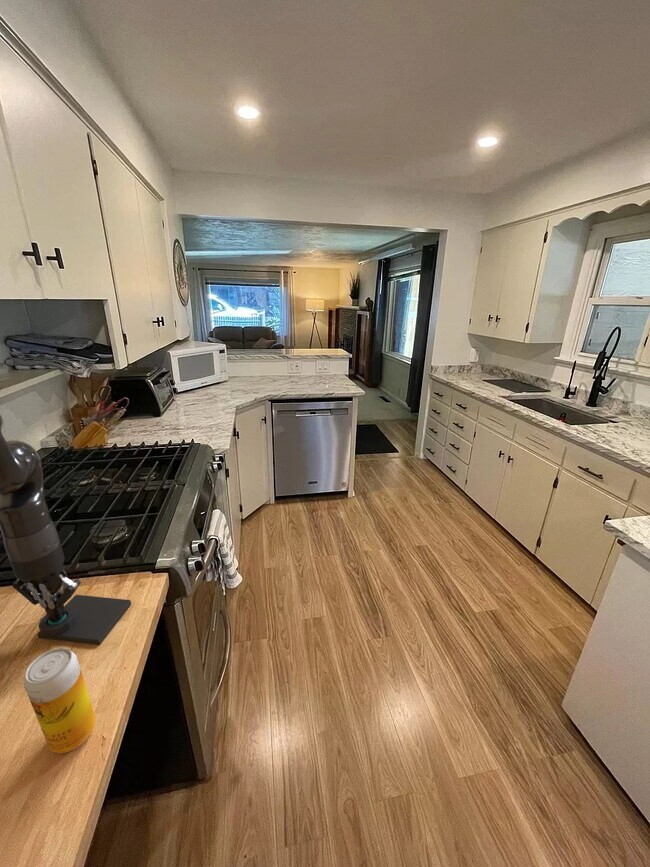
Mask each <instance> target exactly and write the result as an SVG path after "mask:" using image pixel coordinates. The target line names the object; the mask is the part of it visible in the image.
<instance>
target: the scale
mask: <svg viewBox="0 0 650 867" xmlns="http://www.w3.org/2000/svg"><path fill="white" fill-rule="evenodd" d="M131 600H132V599H125V598H124V599H123V598H113V597H104V596H103V597H102V596H95V595H94V596H93V595H85V594H84V595H83V594H75V595H74V596H72V597H71V598H70V599H69V600H68V601H67V602H66V603H65V604H64V608H65V611H66V615H67V618H66V619H65V620H64V621H62V622H60V623H59V624H56V625H52V626H51V625H49V623H48V620H49V618H48V617H47V614H46V613H45V615H44V616H43V617H42V618H41V619H40V620H39V623H38V630H39V631H38V632H37V637H38V639H43V640H51V641H60V642H70V643H78V644H87V645H88V644H89V645H96V646H101V645H102V644H103V642H104V641H105V639H106V638H107V637H108V636H109V635H110V633H111V632H112V631H113V629H114V628H115V627H116V625H117V624H118V623H119V621H120V620H121V619H122V618H123V617H124V615H125V614H126V612H127V611H128V610H129V609H130V608H131V606H132V605H131V604H132V601H131ZM130 605H131V606H130ZM128 608H129V609H128Z"/></svg>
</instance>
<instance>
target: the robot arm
mask: <svg viewBox="0 0 650 867" xmlns="http://www.w3.org/2000/svg"><path fill="white" fill-rule="evenodd" d="M3 426H4V419H3V417H2V415H1V414H0V532H1V533H0V534H1V536H2V540H3V546H4V550H5V552H6V554H7V558H8V560H9V563H10V566H11V569H12V571H13V574H14V576H15V578H16V580H15V581H14V582H13V583H11V586H12V588H13V589H15V591H17V592H18V593H19V594H20V595H21V596H22V597H24V598H25V599H26V600H28V601H29V603H31V604H32V605H34V606H37V605H39V606H40V608H42V609H44V611H45V615H46V614H47V617H48V618H49V620H50V621H51V622H59V621H60V619H61V618H62V617H63V616H64V615H65V614H66V611H65V608H64V606H65V605H66V604H67V603H68V602H69V601H70V600H71V599H72V598H73V595H74V594H75V592H76V591H77V589H78V588H79V587H80V584H81V583H82V582H81V579H74V580H71V578H68V572H67V571H66V570H65V569H64V563H65V558H66V556H65V554H64V550H63V548H62V544H61V540H60V537H59V534H58V531H57V528H56V526H55V524H54V522H53V519H52V516H51V514H50V510H49V507H48V503H47V501H46V498H45V483H44V482H45V481H44V480H45V479H44V471H43V464H42V459H41V458H40V455H39V453H38V452H37V450H36V449H35V448H34V447H33V446H32V445H30V444H29V443H27V442H25V441H22V440H15V439H13V440H6V439H5V437H4V435H3V433H2V430H3Z"/></svg>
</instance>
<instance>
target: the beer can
mask: <svg viewBox="0 0 650 867" xmlns="http://www.w3.org/2000/svg"><path fill="white" fill-rule="evenodd" d="M24 676H25V677H24V680H23V687H24V689H25V692H26V695H27V697H28V699H29V702H30V705H31V707H32V710H33V711H34V714H35V717H36V719H37V721H38V724H39V727H40V729H41V731H42V734H43V736H44V740H45V741H46V744H47V746H48V749H49V751H51V752H52V753H53V754H66V753H68V752H72V751H74V750H75V749H77V748H78V747H80V746H81V745H83V743H84V742H85V741H86V740H87V739H88V737H89V736H90V735H91V734H92V732H93V730H94V728H95V725H96V722H97V717H96V714H95V709H94V707H93V704H92V701H91V698H90V694H89V692H88V691H89V690H88V688H87V685H86V682H85V680H84V675H83V673H82V670H81V666H80V663H79V660H78V657H77V655H76V653H74V652H73V651H72V650H70V648H67V647H56V648H52V649H49V650H47V651H46V652H44V653H43V652H42V654H40V655H39V656H37V657H36V658H35V659H34V660H33V661H32V662H31V663H30V665H29V666H28V667H27V669H26V670H25V675H24Z"/></svg>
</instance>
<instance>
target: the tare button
mask: <svg viewBox="0 0 650 867" xmlns="http://www.w3.org/2000/svg"><path fill="white" fill-rule="evenodd" d="M66 618H67V615H66V614H65V615H64V616H63V617H62V618H61V619H60V621H59V622H51V621H50V620H48V623H49V625H51V626H52V625H56V624H59V623H60V622H62V621H64V620H65V619H66Z"/></svg>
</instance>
